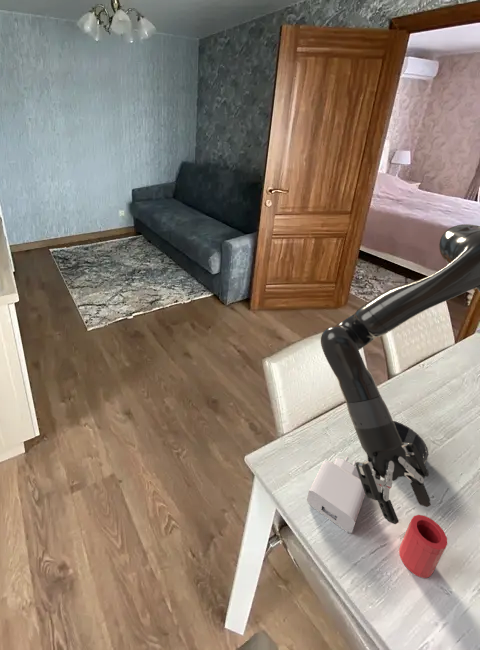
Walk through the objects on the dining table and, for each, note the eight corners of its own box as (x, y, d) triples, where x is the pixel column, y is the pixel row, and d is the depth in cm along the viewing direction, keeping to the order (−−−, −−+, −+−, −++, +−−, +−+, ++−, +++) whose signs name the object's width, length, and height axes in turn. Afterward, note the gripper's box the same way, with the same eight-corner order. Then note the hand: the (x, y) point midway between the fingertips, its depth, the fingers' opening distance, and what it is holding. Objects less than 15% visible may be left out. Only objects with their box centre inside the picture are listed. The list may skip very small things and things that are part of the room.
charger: (370, 479, 80) (351, 535, 69) (329, 454, 85) (306, 503, 75) (375, 465, 78) (355, 520, 67) (333, 440, 84) (309, 488, 73)
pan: (409, 435, 90) (414, 423, 89) (433, 481, 79) (438, 468, 78) (360, 428, 92) (364, 416, 91) (377, 472, 81) (381, 459, 80)
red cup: (424, 546, 68) (437, 517, 64) (438, 581, 63) (454, 552, 59) (394, 540, 68) (406, 512, 65) (406, 574, 64) (419, 545, 60)
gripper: (359, 433, 65) (399, 535, 60) (412, 412, 70) (453, 504, 64) (333, 430, 72) (367, 522, 66) (383, 411, 77) (418, 495, 71)
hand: (409, 513), depth 65 cm, fingers open, 8 cm apart
